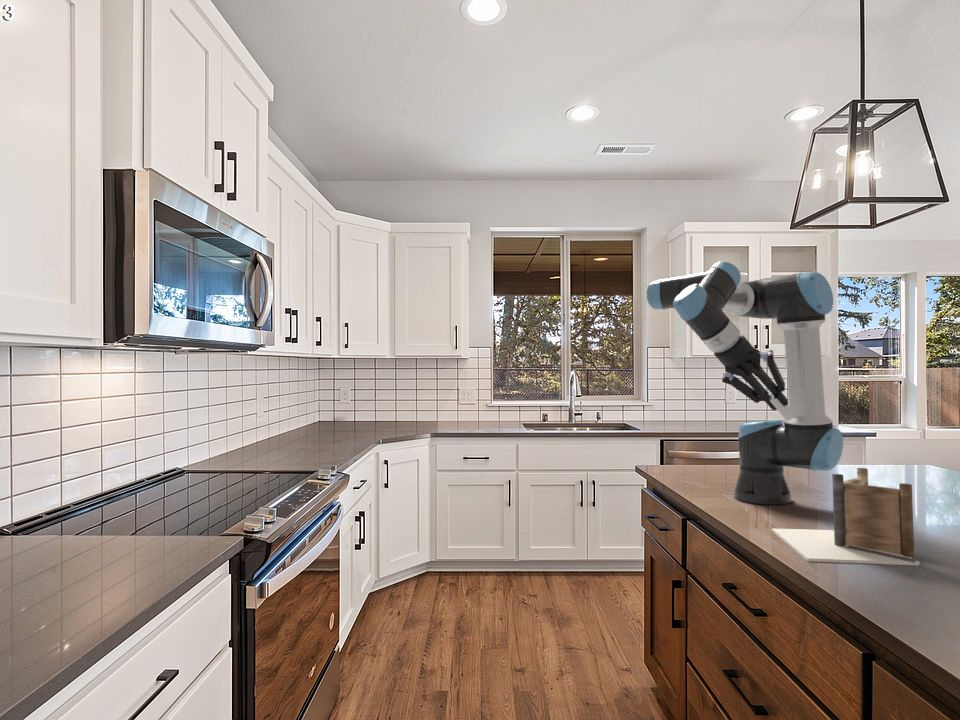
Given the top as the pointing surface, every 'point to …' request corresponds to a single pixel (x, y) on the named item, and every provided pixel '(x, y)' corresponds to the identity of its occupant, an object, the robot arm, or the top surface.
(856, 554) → the card
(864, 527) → the panel
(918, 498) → the top surface
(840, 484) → the fixed fence section
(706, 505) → the top surface
